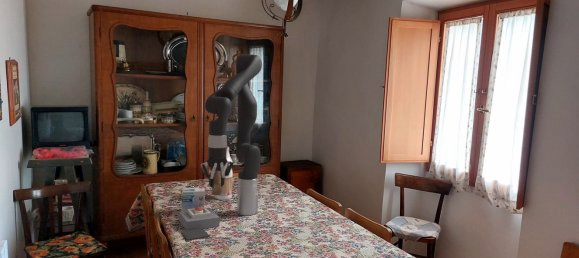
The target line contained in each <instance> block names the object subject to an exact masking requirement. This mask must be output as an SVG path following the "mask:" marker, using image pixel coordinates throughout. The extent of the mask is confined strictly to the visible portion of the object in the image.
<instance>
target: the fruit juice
mask: <svg viewBox="0 0 579 258" xmlns="http://www.w3.org/2000/svg"><path fill="white" fill-rule="evenodd" d="M226 159H227V161H231V162H233V159H232V157H231V155H230V147H229V146H228V145H227V154H226ZM226 167H227V163H226V165H225V166H224V173H225V170H226ZM232 168H233V167H232ZM232 168H231V171H230V174H229V176H226V177H225V180H224V185H223V186H222V187H221V194H220V195H213V196H214V198H215V199H216V200H220V201H225V200H230V199H232V197H233V169H232Z"/></svg>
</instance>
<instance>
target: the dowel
mask: <svg viewBox="0 0 579 258" xmlns="http://www.w3.org/2000/svg"><path fill="white" fill-rule="evenodd" d="M213 179H214V186H213V188H211V195H212V196H214V195H220V194H221V170H216V171H215V173H214V176H213Z"/></svg>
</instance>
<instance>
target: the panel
mask: <svg viewBox="0 0 579 258" xmlns="http://www.w3.org/2000/svg"><path fill="white" fill-rule="evenodd" d="M220 217H221V216H219V215H218V214H216V212H215V211H213V210H212V209H211V208H210V207H205V206H204V207H203V213H198V214H195V208H194V209H187V210H186V211H181V210H180V211H179V210H178V221H179V222H180V224H181V225H182V227H183V228H184V229H185V231H186V230H193V229H200V228H203V229H204V230H205V229H211V228H216V227H220Z"/></svg>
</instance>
